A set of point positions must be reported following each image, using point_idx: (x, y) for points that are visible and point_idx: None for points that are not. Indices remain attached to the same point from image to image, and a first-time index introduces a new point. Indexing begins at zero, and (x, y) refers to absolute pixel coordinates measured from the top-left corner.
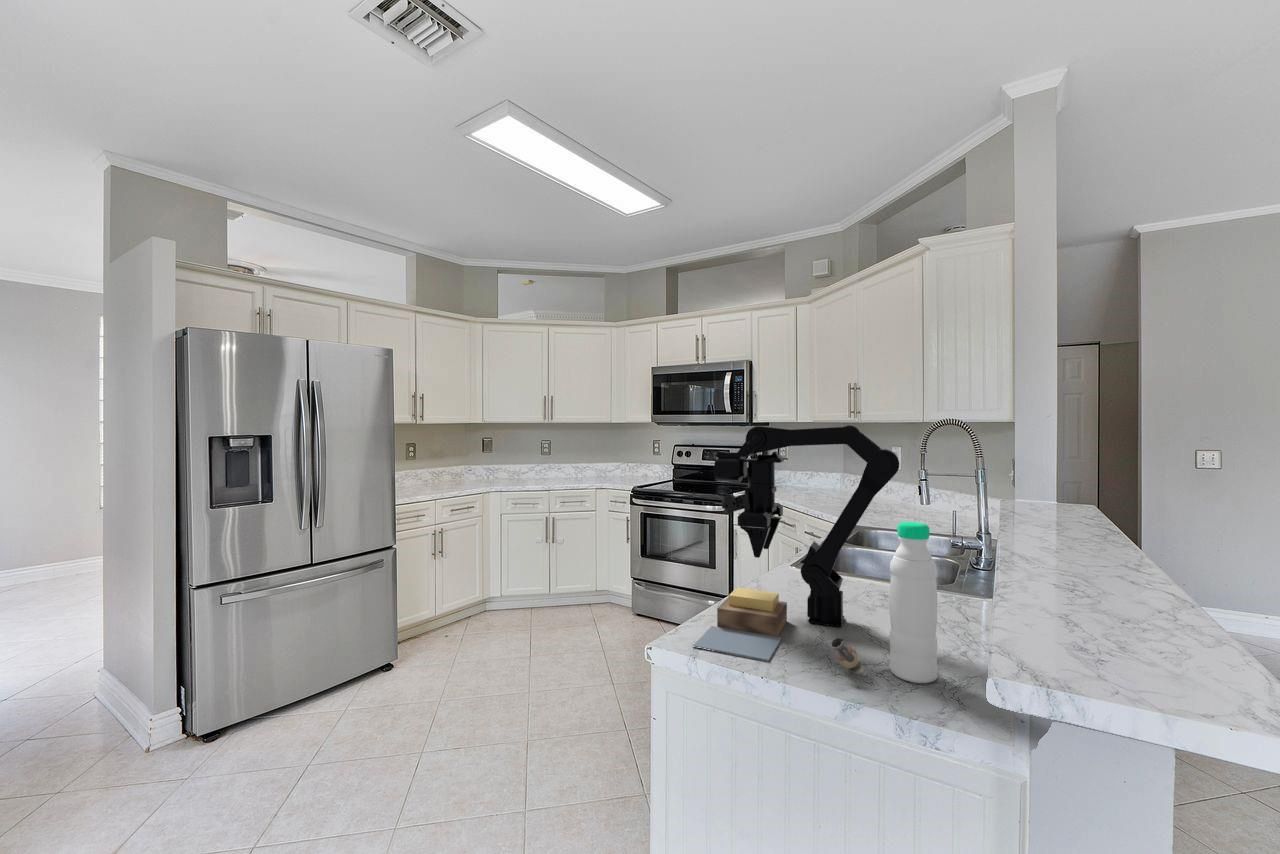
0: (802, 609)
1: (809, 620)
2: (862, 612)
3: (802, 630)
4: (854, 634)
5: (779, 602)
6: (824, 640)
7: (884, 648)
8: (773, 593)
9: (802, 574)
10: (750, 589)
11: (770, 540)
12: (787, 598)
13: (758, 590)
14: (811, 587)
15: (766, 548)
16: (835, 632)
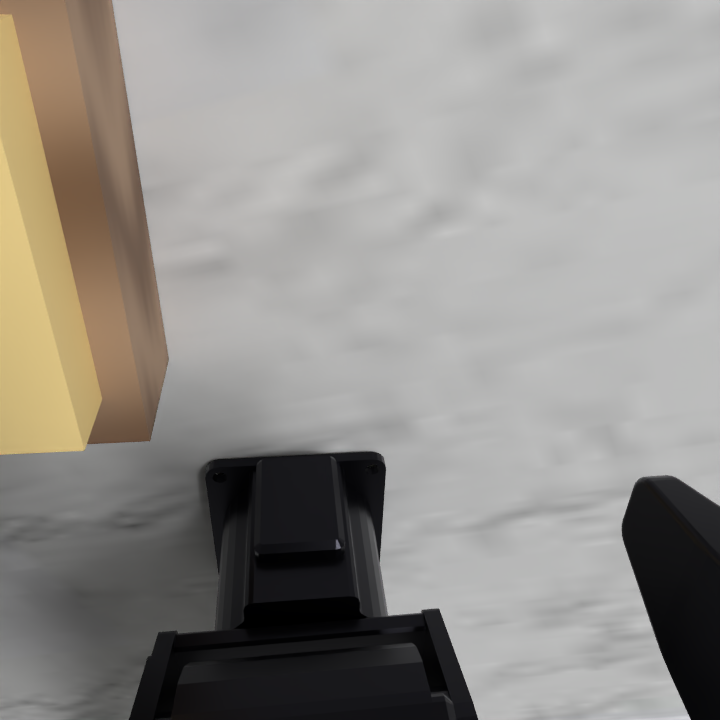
0: (442, 389)
1: (206, 473)
2: (497, 600)
3: (73, 452)
4: (176, 615)
5: (111, 403)
6: (6, 548)
7: (86, 695)
8: (42, 422)
9: (174, 711)
10: (15, 211)
11: (686, 705)
12: (651, 270)
13: (40, 292)
14: (142, 679)
15: (632, 517)
16: (151, 563)
